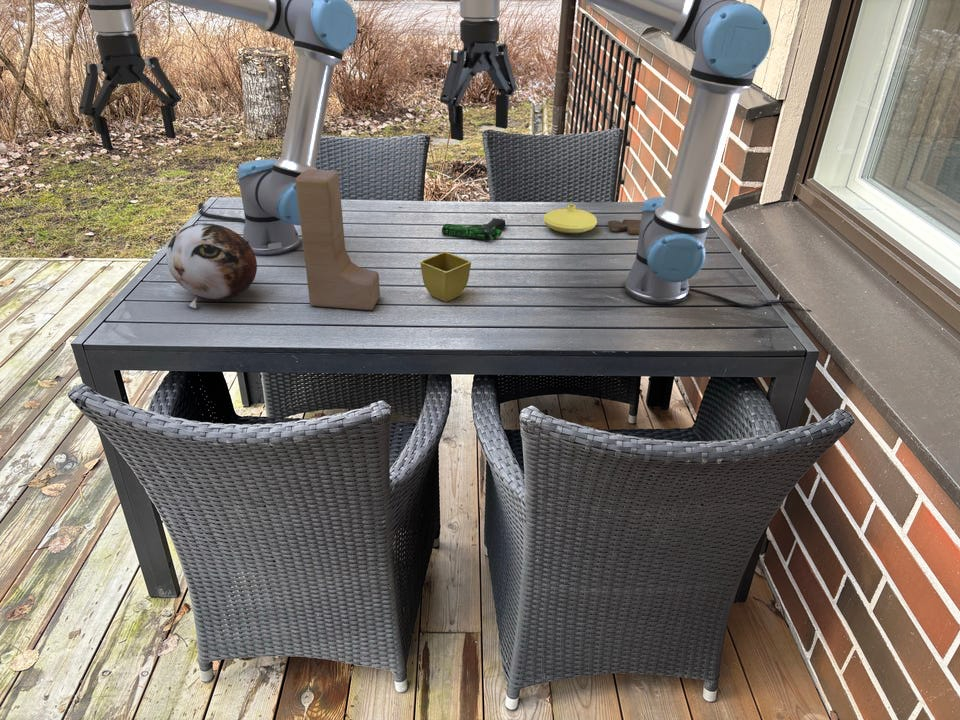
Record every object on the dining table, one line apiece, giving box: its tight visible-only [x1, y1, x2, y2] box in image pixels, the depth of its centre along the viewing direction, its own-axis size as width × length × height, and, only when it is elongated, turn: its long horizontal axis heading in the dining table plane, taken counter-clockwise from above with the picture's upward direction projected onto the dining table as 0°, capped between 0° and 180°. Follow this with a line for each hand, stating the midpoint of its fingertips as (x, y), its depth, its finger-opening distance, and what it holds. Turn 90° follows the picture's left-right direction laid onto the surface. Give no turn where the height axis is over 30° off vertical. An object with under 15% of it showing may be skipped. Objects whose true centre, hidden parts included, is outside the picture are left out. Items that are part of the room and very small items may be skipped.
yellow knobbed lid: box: [543, 203, 598, 234], centre depth 209 cm, size 16×16×7 cm
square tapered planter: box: [419, 251, 472, 303], centre depth 169 cm, size 9×9×9 cm
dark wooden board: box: [607, 219, 641, 235], centre depth 211 cm, size 26×2×10 cm
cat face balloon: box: [165, 222, 258, 309], centre depth 165 cm, size 22×18×20 cm
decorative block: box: [295, 169, 381, 311], centre depth 159 cm, size 8×15×30 cm, turn 82°
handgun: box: [441, 217, 506, 242], centre depth 207 cm, size 16×3×15 cm
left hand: (140, 143), depth 150 cm, fingers open, 13 cm apart
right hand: (479, 133), depth 147 cm, fingers open, 13 cm apart
